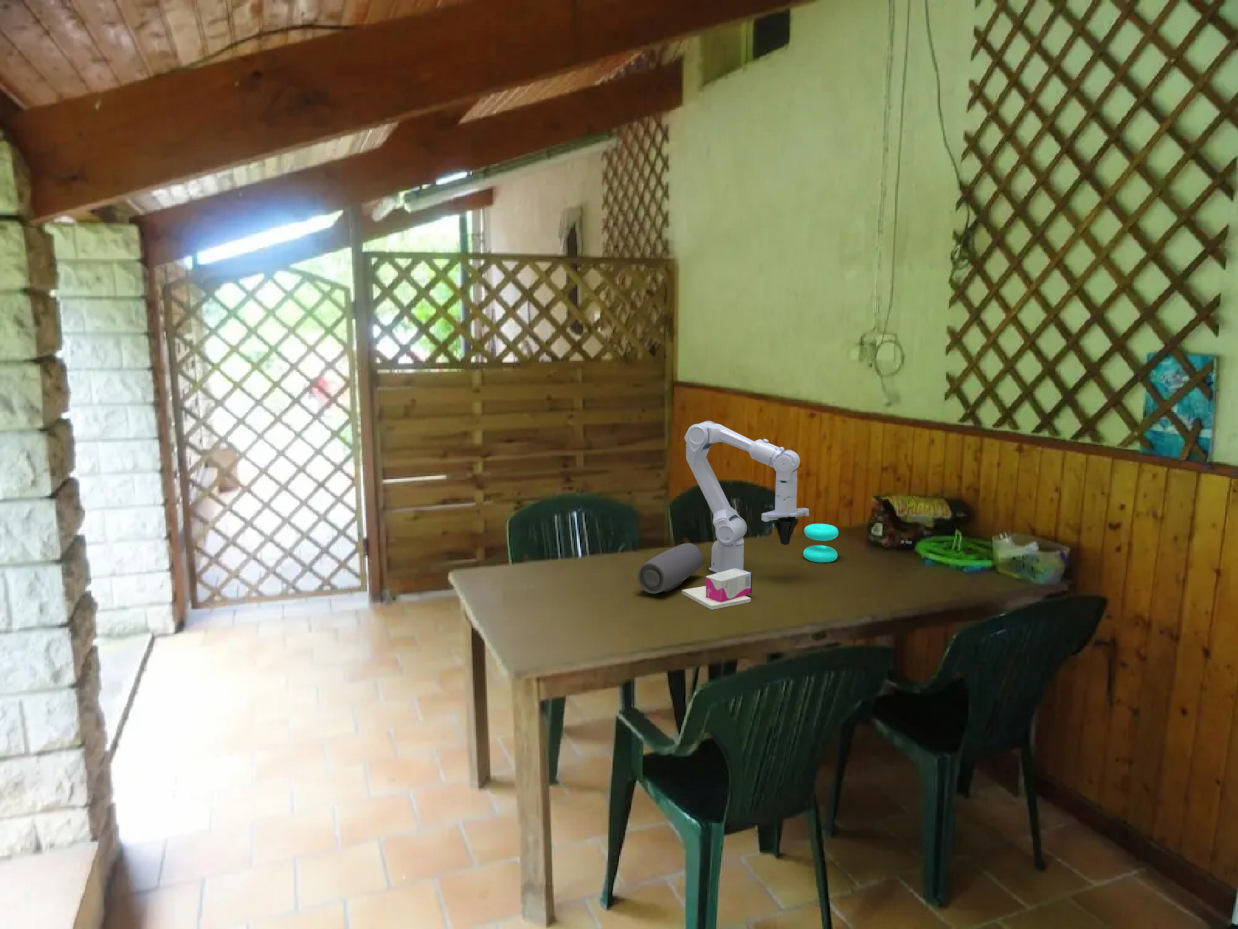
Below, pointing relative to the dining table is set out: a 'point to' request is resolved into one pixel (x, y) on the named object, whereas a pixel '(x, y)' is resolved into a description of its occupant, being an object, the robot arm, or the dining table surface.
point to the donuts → (820, 551)
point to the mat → (700, 597)
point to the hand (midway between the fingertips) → (784, 544)
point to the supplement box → (728, 584)
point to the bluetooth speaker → (669, 568)
